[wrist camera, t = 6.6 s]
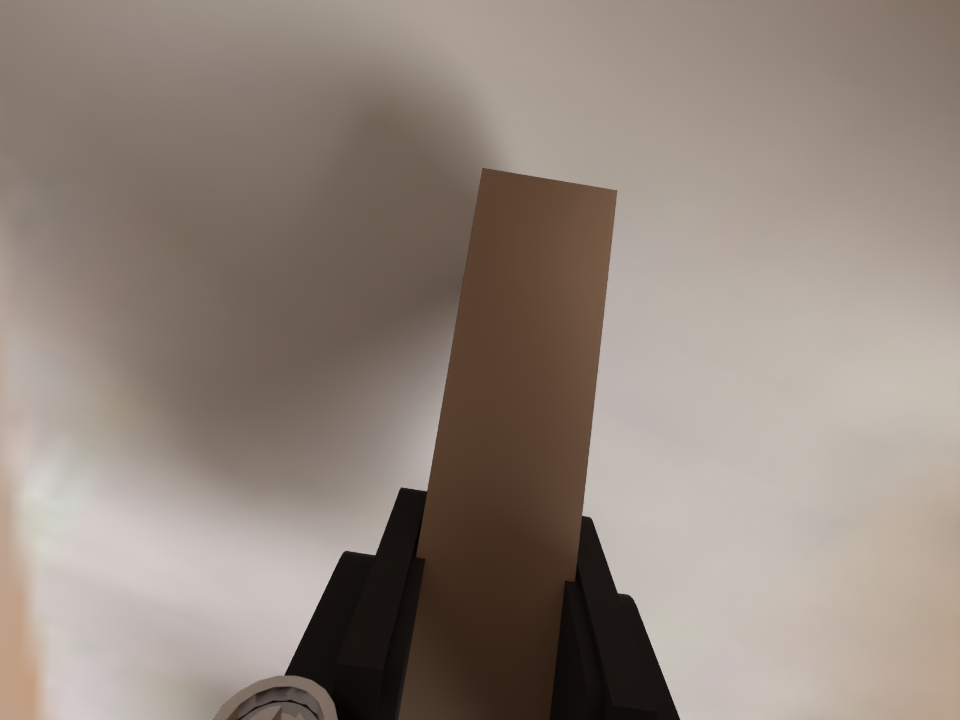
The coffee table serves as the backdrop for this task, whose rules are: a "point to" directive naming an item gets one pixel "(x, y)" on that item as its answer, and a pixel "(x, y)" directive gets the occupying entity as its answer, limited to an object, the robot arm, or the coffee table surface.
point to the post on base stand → (511, 452)
